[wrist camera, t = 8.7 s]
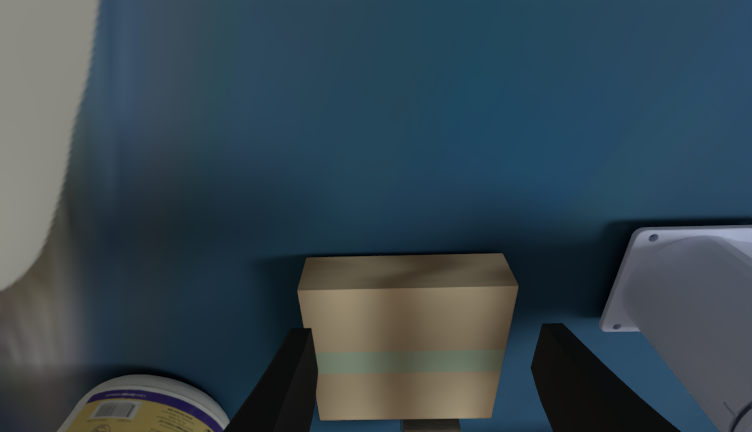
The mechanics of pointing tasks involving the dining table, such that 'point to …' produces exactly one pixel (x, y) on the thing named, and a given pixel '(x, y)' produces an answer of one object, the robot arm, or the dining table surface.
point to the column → (430, 425)
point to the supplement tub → (145, 407)
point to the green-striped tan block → (408, 333)
